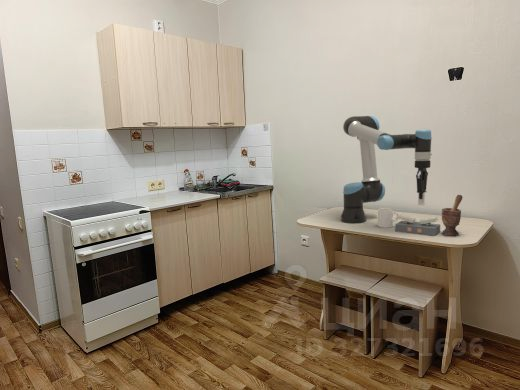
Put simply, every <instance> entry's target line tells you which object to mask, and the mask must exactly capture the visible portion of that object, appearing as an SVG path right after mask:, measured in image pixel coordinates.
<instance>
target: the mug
mask: <svg viewBox="0 0 520 390" xmlns="http://www.w3.org/2000/svg"><path fill="white" fill-rule="evenodd" d="M393 215H396V217H395V218H394V217H393ZM399 215H400V214H399V213H398V212H397V211H394V210H393V209H392V208H386V207H385V208H383V207H382V208H378V209H377V226H378V227H379V228H385V229H390V228H393V225H394V223H393V222H396V221H398V218H399Z"/></svg>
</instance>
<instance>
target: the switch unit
mask: <svg viewBox="0 0 520 390" xmlns="http://www.w3.org/2000/svg"><path fill="white" fill-rule="evenodd" d="M394 225H395V228H394V229H395V230H394V231H395V232H398V233H406V234H413V235H422V236H432V237H435V236H437V235H438V234H439V233H440V232H441V224H440V223H426V224H420V222H419V221H415V222H414V223H411V222H407V221H404V220H400V221H399V222H397V223H395V224H394Z"/></svg>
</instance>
